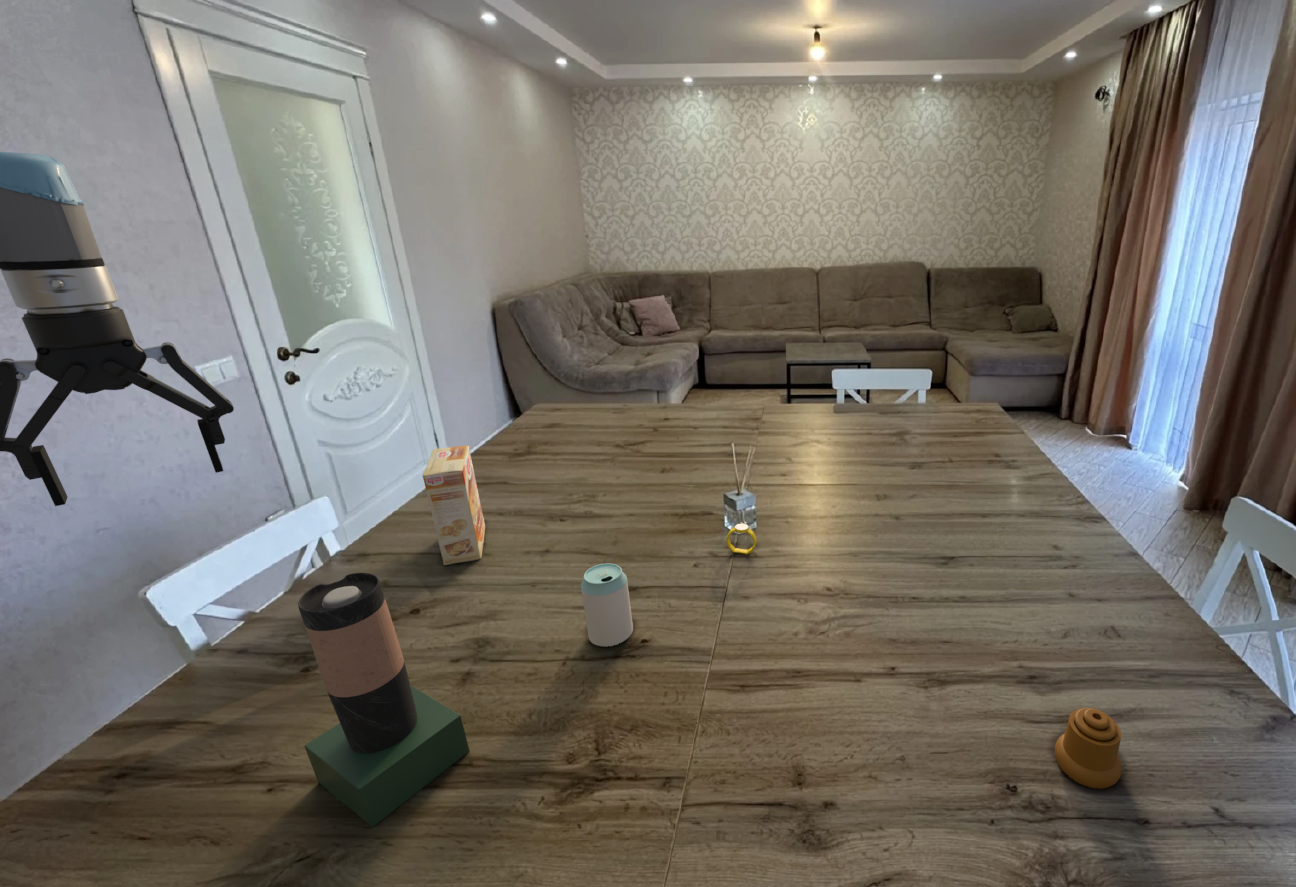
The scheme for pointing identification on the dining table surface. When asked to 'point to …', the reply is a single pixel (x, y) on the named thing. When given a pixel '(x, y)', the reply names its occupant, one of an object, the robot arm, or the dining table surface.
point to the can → (606, 605)
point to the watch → (741, 529)
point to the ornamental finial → (1090, 749)
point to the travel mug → (360, 660)
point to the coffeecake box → (455, 504)
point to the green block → (389, 761)
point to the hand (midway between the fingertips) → (145, 484)
